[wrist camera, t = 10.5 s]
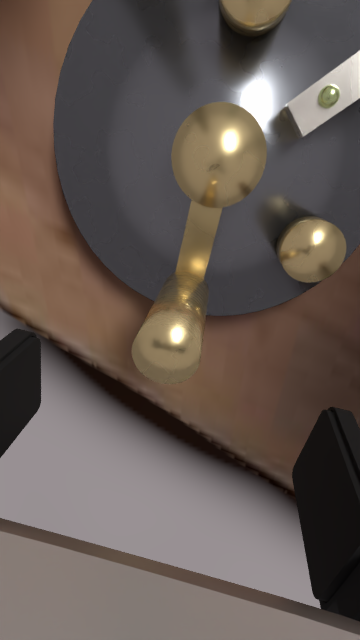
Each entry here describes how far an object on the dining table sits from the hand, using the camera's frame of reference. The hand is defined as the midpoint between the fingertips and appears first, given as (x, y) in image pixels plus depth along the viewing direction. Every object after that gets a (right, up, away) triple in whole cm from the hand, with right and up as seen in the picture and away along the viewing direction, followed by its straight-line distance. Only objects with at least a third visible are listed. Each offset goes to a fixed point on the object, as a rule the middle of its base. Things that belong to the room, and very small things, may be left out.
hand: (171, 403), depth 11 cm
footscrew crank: (+2, +9, +10) cm, 13 cm away
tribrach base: (+3, +13, +10) cm, 17 cm away
